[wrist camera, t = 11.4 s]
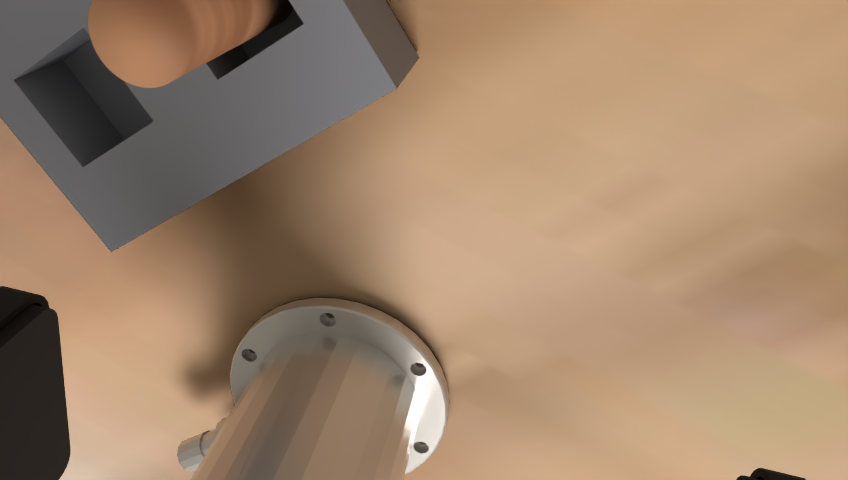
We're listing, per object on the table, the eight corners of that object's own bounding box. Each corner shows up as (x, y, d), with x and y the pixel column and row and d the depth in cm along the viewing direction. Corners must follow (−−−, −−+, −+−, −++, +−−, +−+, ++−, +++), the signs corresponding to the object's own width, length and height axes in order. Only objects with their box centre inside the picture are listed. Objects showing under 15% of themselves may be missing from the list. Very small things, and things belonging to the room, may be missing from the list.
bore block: (162, 207, 38) (111, 252, 34) (2, 0, 35) (-79, 21, 30) (419, 57, 32) (396, 88, 28) (260, -212, 29) (206, -225, 24)
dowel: (253, 40, 32) (135, 106, 23) (208, -27, 31) (67, 14, 22) (311, 2, 31) (210, 55, 22) (266, -70, 30) (141, -44, 21)
